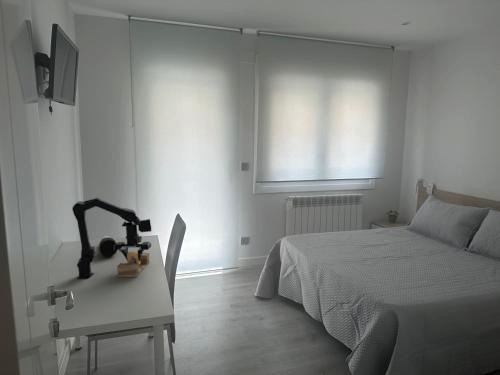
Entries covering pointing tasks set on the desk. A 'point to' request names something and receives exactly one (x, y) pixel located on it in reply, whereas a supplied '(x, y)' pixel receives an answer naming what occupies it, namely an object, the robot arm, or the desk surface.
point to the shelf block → (133, 266)
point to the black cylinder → (107, 246)
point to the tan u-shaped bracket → (132, 254)
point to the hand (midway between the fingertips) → (133, 260)
